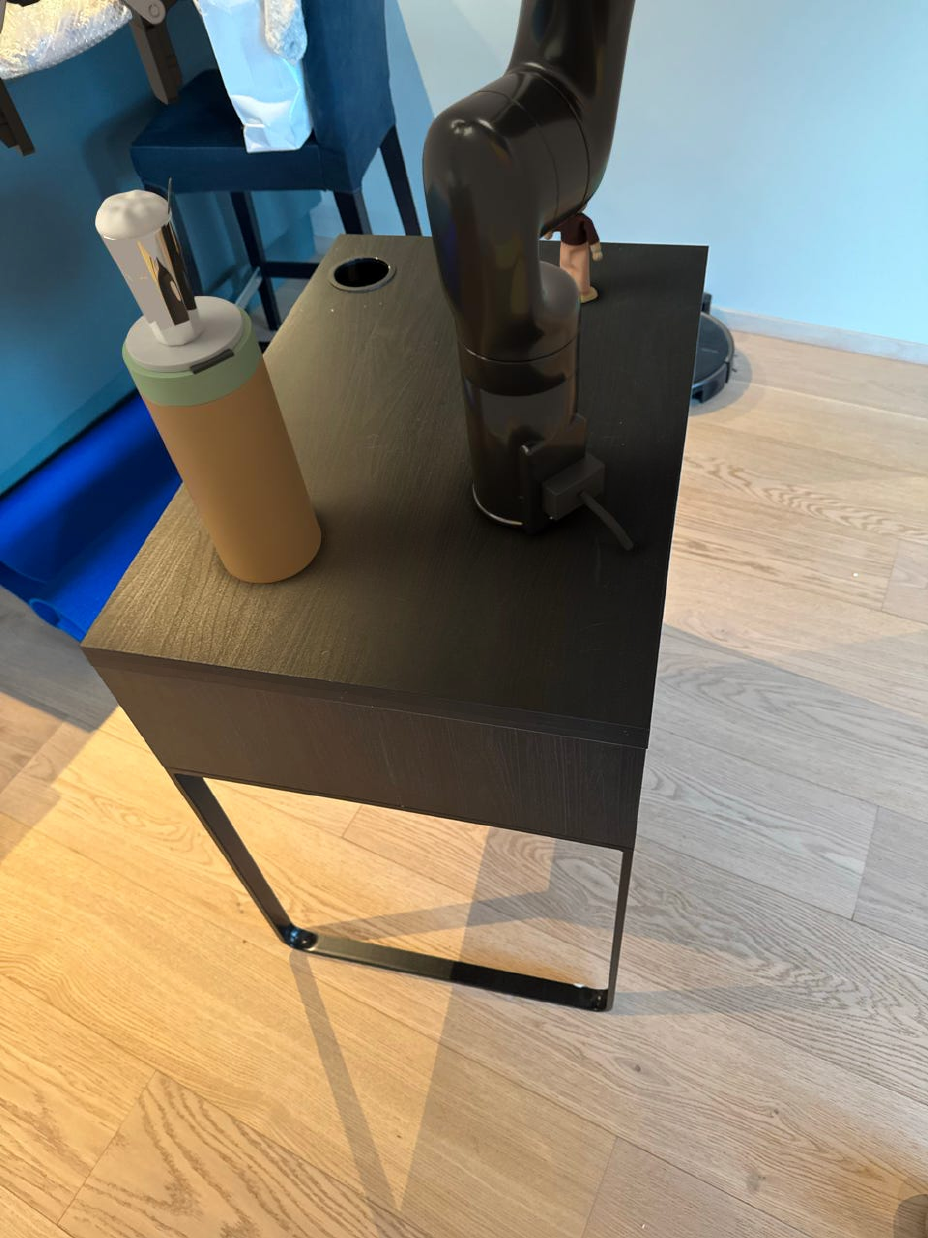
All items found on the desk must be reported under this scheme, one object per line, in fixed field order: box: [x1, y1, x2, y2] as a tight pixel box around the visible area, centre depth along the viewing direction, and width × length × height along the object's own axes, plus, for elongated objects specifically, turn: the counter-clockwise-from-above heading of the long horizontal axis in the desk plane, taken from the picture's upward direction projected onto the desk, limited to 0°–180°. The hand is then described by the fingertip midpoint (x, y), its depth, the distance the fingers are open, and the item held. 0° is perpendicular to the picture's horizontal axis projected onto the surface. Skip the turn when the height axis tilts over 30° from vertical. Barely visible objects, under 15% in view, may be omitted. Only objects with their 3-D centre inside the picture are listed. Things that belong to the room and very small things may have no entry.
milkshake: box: [94, 177, 204, 346], centre depth 53 cm, size 4×5×10 cm
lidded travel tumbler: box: [121, 295, 322, 584], centre depth 66 cm, size 9×9×22 cm
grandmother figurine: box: [543, 202, 604, 304], centre depth 89 cm, size 8×4×13 cm, turn 58°
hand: (98, 123), depth 47 cm, fingers open, 8 cm apart
